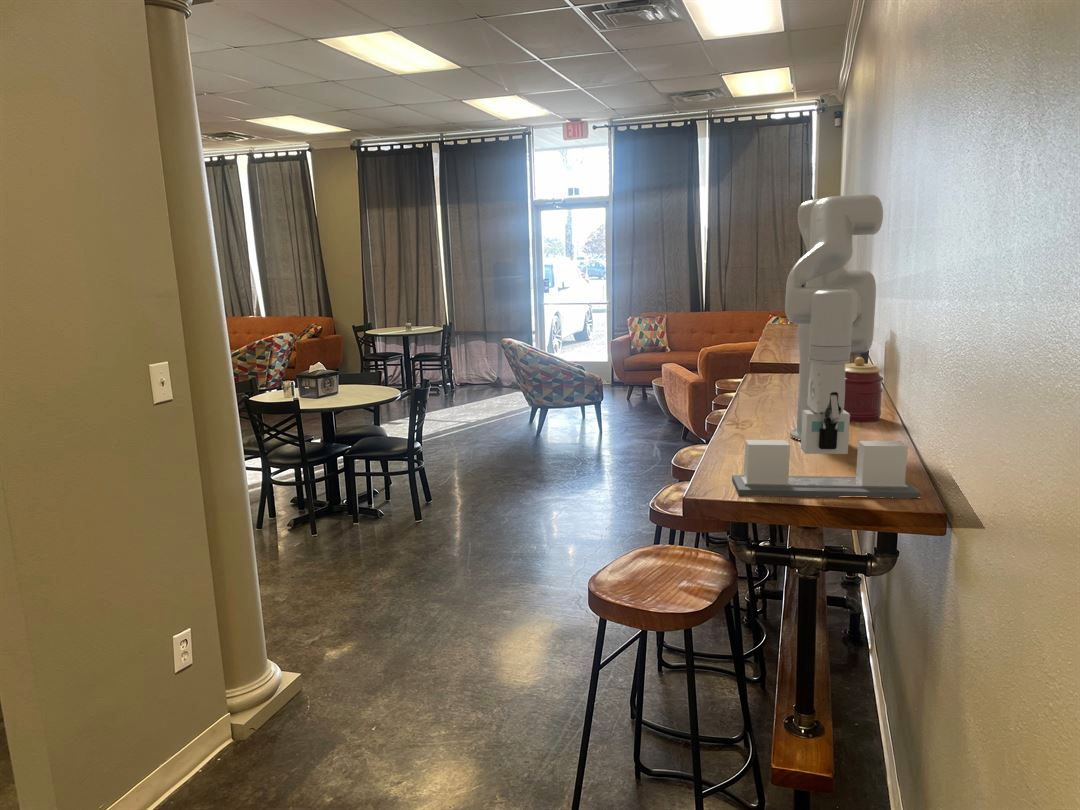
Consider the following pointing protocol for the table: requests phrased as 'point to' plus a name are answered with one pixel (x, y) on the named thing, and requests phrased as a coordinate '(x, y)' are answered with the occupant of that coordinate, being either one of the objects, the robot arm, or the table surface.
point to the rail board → (822, 490)
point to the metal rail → (823, 483)
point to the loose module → (812, 430)
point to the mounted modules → (873, 468)
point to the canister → (862, 391)
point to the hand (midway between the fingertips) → (824, 444)
